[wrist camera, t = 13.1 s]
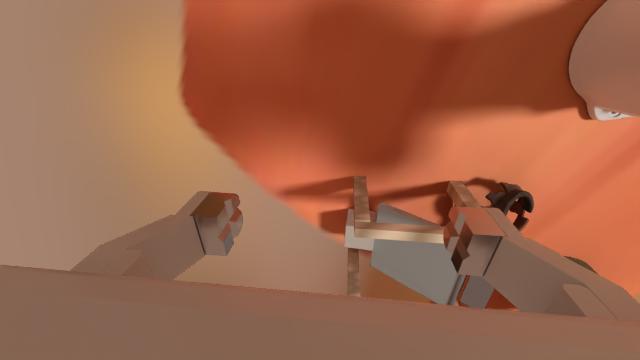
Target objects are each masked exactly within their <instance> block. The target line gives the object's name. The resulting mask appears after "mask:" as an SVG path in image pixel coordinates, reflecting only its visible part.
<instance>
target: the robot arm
mask: <svg viewBox="0 0 640 360" xmlns="http://www.w3.org/2000/svg"><path fill="white" fill-rule="evenodd" d="M569 77H570V81H571V84H572V86H573V88H574V89H575V91H576V92H577V93H578V94H579V95H580V96H581V97H582V98H583V99H584V100H585V101H586V103H587V109H588V114H589V116H590V118H592V119H594V120H599V121H605V120H613V119H620V118H627V117H638V118H640V0H607V1H606V2H605V3H604V4H603V5H602V6H601V7H600V8H599V9H598V10H597V11H596V12H595V13H594V14H593V16H592V17H591V18H590V19H589V21H588V22H587V23H586V25H585V26H584V28H583V29H582V31H581V32H580V34H579V36H578V38H577V40H576V42H575V44H574V47H573V49H572V52H571V56H570V61H569ZM611 111H612V112H611ZM239 204H240V200H239V196H238V195H237V194H233V193H220V192H206V191H200V192H197V193H196V194H195V195H194V196H193V197H192V198H191V199H190V200H189V201H188V202H187V203H186V204H185V205H184V206H183V207H182V208H181V209H180V210H179V211H178V212H177V213H176V214H175V215H169V216H167V217H165V218H162V219H160V220H158V221H155V222H153V223H151V224H148V225H146V226H144V227H142V228H139V229H137V230H135V231H132V232H130V233H128V234H125V235H123V236H121V237H118V238H116V239H114V240H112V241H109V242H107V243H104V244H102V245H100V246H99V247H97V248H96V249H95V250H94V251H93V252H91V253H90V254H89V255H88V256H87V257H86V258H84V259H83V260H82V261H81V262H80V263H78V264H77V265H76V266H75V267H74V268H72V269H71V270H70V271H65V270H53V269H43V268H31V267H19V266H9V265H0V360H640V304H639V303H638V302H637V301H636V300H635V299H634V298H633V297H632V296H631V295H630V294H629V293H628V292H627V291H626V290H624V289H623V288H622V287H620V286H619V285H617V284H615V283H613V282H611V281H609V280H607V279H605V278H603V277H602V276H600V275H598V274H596V273H594V272H592V271H590V270H588V269H587V268H585V267H583V266H581V265H579V264H577V263H575V262H573V261H571V260H570V259H568V258H566V257H564V256H562V255H560V254H558V253H556V252H555V251H553V250H551V249H549V248H547V247H545V246H543V245H541V244H539V243H538V242H536V241H534V240H532V239H530V238H524V236H523V235H522V234H521V233H520V232H519V231H518V229H517V228H516V227H515V226H514V225H513V224H512V223H511V221H510V220H509V219H508V218H507V217H506V216H505V215H504V213H503V212H502V211H501V210H500V209H498V208H475V207H452V208H451V209H450V212H449V215H448V216H449V218H450V220H451V221H450V222H449V223H447V224H446V225H445V228H444V231H443V241H444V245H445V247H446V250H447V251H449V252H450V253H451V254H452V257H451V261H452V263H453V265H454V267H455V270H456V272H457V274H461V275H470V276H480V277H484V279H485V280H486V281H487V282H488V283H489V284H491V285H492V286H493V287H494V288H495V289H496V290H497V291H498V292H499V293H501V294H502V295H503V296H504V297H505V298H506V299H507V300H508V301H509V302H511V303H512V304H513V305H514V306H515V307H516V308H517V309H518V310H519V311H512V310H500V309H488V308H477V307H465V306H455V305H444V304H433V303H422V302H410V301H400V300H388V299H377V298H366V297H356V296H343V295H332V294H322V293H309V292H299V291H288V290H277V289H265V288H254V287H243V286H232V285H221V284H209V283H198V282H186V281H176V280H173V279H175V278H176V277H177V276H179V275H180V274H181V273H183V272H184V271H185V270H187V269H188V268H189V267H191V266H192V265H193V264H195V263H196V262H197V261H199V260H200V259H201V258H203V257H204V256H205V255H220V256H227V255H228V253H229V251H230V249H231V247H232V246H233V244H234V241H233V238H234V237H236V236H238V235H239V233H240V231H241V228H242V223H243V216H242V212H241V211H240V210H239V209H238V208H237V207H238V206H239Z"/></svg>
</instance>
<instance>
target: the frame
mask: <svg viewBox="0 0 640 360" xmlns="http://www.w3.org/2000/svg"><path fill="white" fill-rule="evenodd" d="M447 192H448V194H449V196H450V197H451V199H452V201H453V202H454V204H455V205H456V207H475V208H482V207H481V206H480V205H479V203H478V202H477V201H476V199H475V198H474V197H473V195H472V194H471V193H470V192H469V190H468V189H467V188H466V186H465V185H464V184H463V182H462V181H449V184H448V187H447ZM353 200H354V236H355V237H358V238H372V239H387V240H401V241H415V242H430V243H444V241H443V231H444V228H445V227H440V226H424V225H409V224H393V223H377V222H370V212H369V203H368V194H367V185H366V177H362V176H354V182H353ZM348 296H356V297H360V283H359V257H358V249H356V248H348ZM455 306H459V305H458V302H457V300H456V302H455Z"/></svg>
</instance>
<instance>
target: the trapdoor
mask: <svg viewBox="0 0 640 360" xmlns="http://www.w3.org/2000/svg"><path fill="white" fill-rule="evenodd" d="M376 222H377V223H393V224H409V225H424V226H440V225H437V224H435V223H432V222H430V221H427V220H425V219H422V218H420V217H417V216H415V215H412V214H410V213H407V212H405V211H402V210H400V209H397V208H395V207H392V206H390V205H388V204H385V203H383V202H381V203H380V204H379V205H378V212H377V219H376ZM440 227H442V226H440ZM451 257H452V254H451V253H450V252H449V251H447V250H446V247H445V245H444V243H430V242H415V241H401V240H387V239H374V244H373V251H372V255H371V262H370V266H372V267H374V268H376V269H378V270H379V271H381V272H383V273H385V274H386V275H388V276H390V277H391V278H393V279H395V280H397V281H399V282H400V283H402V284H404V285H406V286H407V287H409V288H411V289H413V290H415V291H416V292H418V293H420V294H421V295H423V296H425V297H427V298H429V299H430V300H432V301H434V302H435V303H437V304H444V305H455V302H456V300H457V298H458V295H459V293H460V291H461V288H462V286H463V284H464V281H465V279H466V276H467V275H461V274H457V272H456V270H455V267H454V265H453V263H452V261H451ZM494 289H495V288H494V287H493V286H492V285H491V284H489V283H488V282H487V281H486V280H485V279H484V277H480V276H470V277H469V279H468V282H467V284H466V286H465V289H464V291H463V293H462V296H461V299H460V302H462V303H464V304H466V305H468V306H469V307H477V308H485V306H486V304H487V302H488V301H489V299H490V297H491V295H492V293H493V291H494Z"/></svg>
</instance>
